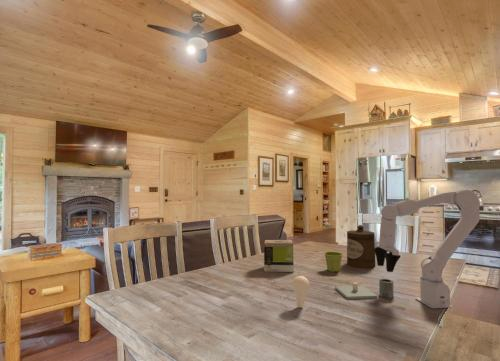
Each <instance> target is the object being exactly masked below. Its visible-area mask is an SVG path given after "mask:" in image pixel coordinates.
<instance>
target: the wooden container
mask: <svg viewBox="0 0 500 361" xmlns="http://www.w3.org/2000/svg"><path fill="white" fill-rule="evenodd" d="M364 228H365V226H364V225H363V224H359V225H358V226H357V229H356V230H346V240H347V242H346V244H347V245H346V263H347V265H348V266H351V267H354V268H361V269H370V268H375V267H376V254H375V252H374V249H373V248H376V239H375V237H376V234H375V232H374V231H371V230H365V229H364Z"/></svg>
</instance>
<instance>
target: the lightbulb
mask: <svg viewBox="0 0 500 361" xmlns="http://www.w3.org/2000/svg"><path fill="white" fill-rule="evenodd" d="M291 288H292V290H293V291H294V294H295V300H296V306H297V307H299V308H300V309H302V308H303V307H304V306H305V301H306V296H307V293H308V291H309V289H310V281H309V280H308V279H307V278H306V277H305V276H303V275H297V276H295V277H294V279H293V280H292V283H291Z"/></svg>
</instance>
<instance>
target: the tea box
mask: <svg viewBox="0 0 500 361" xmlns="http://www.w3.org/2000/svg"><path fill="white" fill-rule="evenodd" d="M294 264H295V263H294V243H293V239H292V240H291V239H289V240H288V239H286V240H285V239H279V240H278V239H265V240H264V242H263V269H264V272H275V273H278V272H279V273H280V272H281V273H285V272H286V273H294V272H295V271H294V266H295V265H294Z"/></svg>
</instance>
